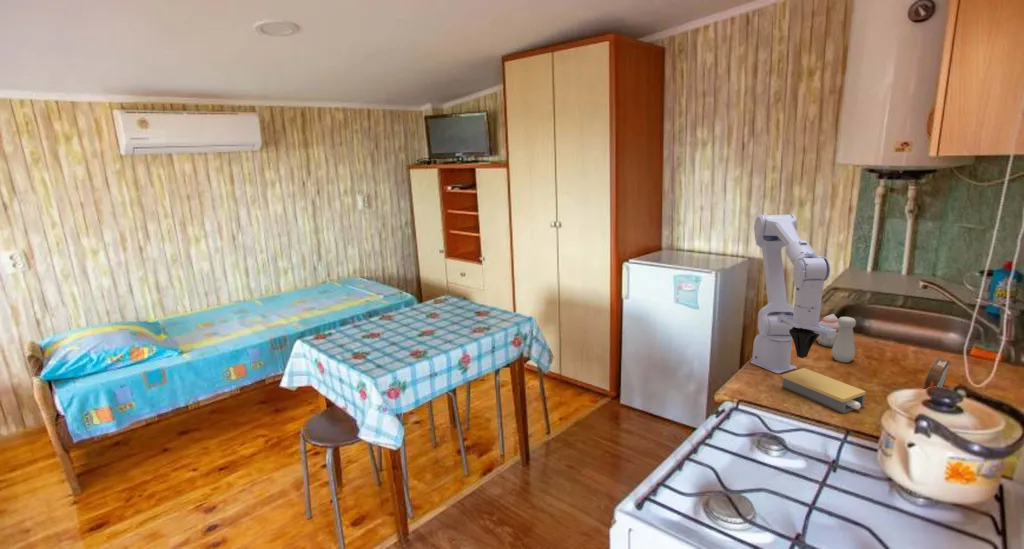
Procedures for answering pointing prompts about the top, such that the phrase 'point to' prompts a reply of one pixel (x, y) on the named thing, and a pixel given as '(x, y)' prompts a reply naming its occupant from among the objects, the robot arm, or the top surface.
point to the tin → (937, 373)
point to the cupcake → (832, 323)
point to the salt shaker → (844, 340)
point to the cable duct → (824, 398)
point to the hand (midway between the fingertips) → (801, 356)
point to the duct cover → (824, 385)
